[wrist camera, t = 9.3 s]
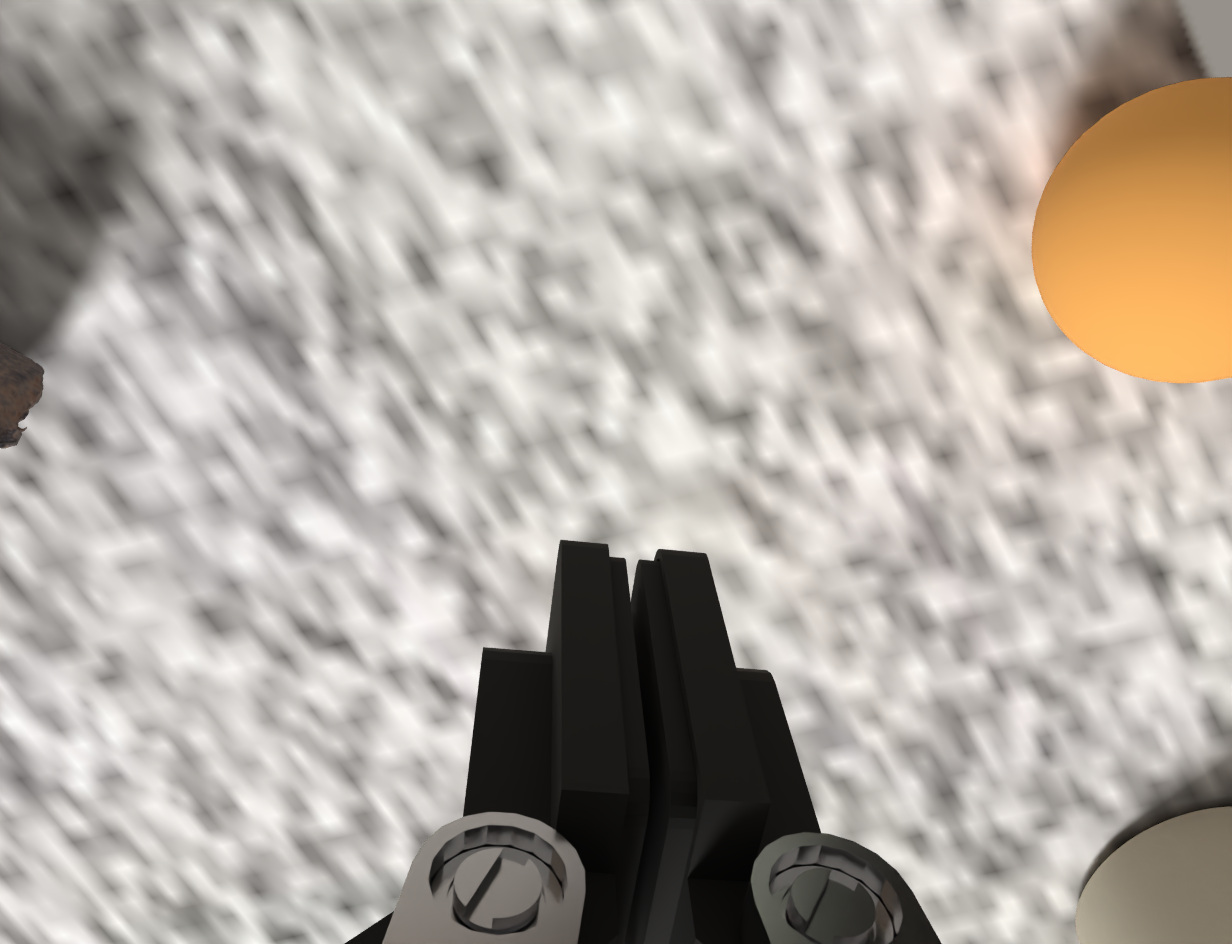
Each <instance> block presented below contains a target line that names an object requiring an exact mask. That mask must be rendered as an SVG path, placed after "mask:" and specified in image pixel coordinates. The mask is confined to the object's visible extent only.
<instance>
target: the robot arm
mask: <svg viewBox="0 0 1232 944" xmlns="http://www.w3.org/2000/svg"><path fill="white" fill-rule="evenodd" d="M345 944H941V942H940V940H939V938H938V936H937V935H936V933H935V931H934V929H933V928H932V926H931V924H930V922H929V920H928V919H927V917H926V915H925V913H924V911H923V910H922V908H921V906H920V904H919V903H918V901H917V899H916V897H915V895H914V894H913V892H912V890H911V889H910V888H909V886H908V885H907V884H906V882H905V881H904V880H903V878H902V877H901V876H900V874H899V873H898V872H897V870H895V869H894V868H893V867H892V866H891V865H889V864H888V863H887V862H886V861H885V860H883V859H882V858H881V857H880V856H879V855H878V854H876V853H874V852H872V851H870V850H869V849H867V848H865V847H863V846H861V845H859V844H857V843H856V842H854V841H851V840H847V839H844V838H841V837H837V836H834V835H831V834H823V833H821V831H820V828H819V824H818V821H817V818H816V815H815V811H814V808H813V805H812V801H811V798H810V795H809V792H808V788H807V785H806V782H805V779H804V775H803V772H802V769H801V766H800V762H799V759H798V756H797V753H796V749H795V746H794V743H793V739H792V736H791V733H790V730H789V726H788V723H787V720H786V717H785V713H784V710H783V707H782V704H781V700H780V697H779V694H778V691H777V687H776V684H775V681H774V679H773V677H772V675H771V673H770V672H768V671H767V670H757V669H744V668H736V666H735V662H734V658H733V654H732V650H731V646H730V643H729V639H728V635H727V631H726V627H725V623H724V619H723V615H722V611H721V607H720V603H719V600H718V596H717V592H716V588H715V584H714V580H713V576H712V572H711V568H710V564H709V560H708V557H707V555H706V554H705V553H697V552H687V551H676V550H665V549H658V550H657V552H656V555H655V559H654V561H649V560H639V561H638V564H637V568H636V573H635V579H634V585H633V591H632V597H631V602H630V593H629V584H628V575H627V566H626V560H625V558H616V557H609V548H608V544H600V543H589V542H578V541H568V540H560V544H559V550H558V557H557V565H556V573H555V581H554V589H553V597H552V605H551V613H550V621H549V629H548V637H547V645H546V652H535V651H523V650H510V649H498V648H486V647H483V653H482V661H481V669H480V678H479V686H478V695H477V703H476V712H475V720H474V729H473V737H472V746H471V754H470V762H469V771H468V779H467V788H466V796H465V805H464V813H463V817H462V818H460V819H458V820H455V821H453V822H451V823H449V824H446V825H444V826H442V827H441V828H440V829H439V830H437V831H436V832H435V833H434V834H433V835H431V836H430V837H429V838H428V839H427V840H426V841H424V843H423V845H422V846H421V848H420V850H419V851H418V853H417V855H416V856H415V858H414V860H413V861H412V864H411V867H410V870H409V872H408V875H407V878H406V880H405V883H404V886H403V889H402V891H401V894H400V897H399V899H398V902H397V905H396V907H395V910H394V911H393V912H392V913H390V914H389V915H387V916H386V917H384V918H383V919H381V920H380V921H378V922H377V923H375V924H374V925H372V926H371V927H369V928H368V929H366V930H365V931H363V932H362V933H360V934H359V935H357V936H356V937H354V938H353V939H351V940H349V941H348V942H346V943H345Z"/></svg>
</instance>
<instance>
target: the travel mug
mask: <svg viewBox="0 0 1232 944" xmlns="http://www.w3.org/2000/svg"><path fill="white" fill-rule="evenodd" d="M1075 924H1076V932H1077V936H1078V940H1079V942H1080V944H1232V807H1218V808H1210V809H1204V810H1199V811H1195V812H1191V813H1187V814H1184V815H1181V816H1177V817H1174V818H1172V819H1169V820H1167V821H1164V822H1162V823H1160V824H1157V825H1155V826H1153V827H1151V828H1149V829H1147V830H1145V831H1144V832H1142V833H1140V834H1138V835H1137V836H1135V837H1134V838H1132V839H1130V840H1129V841H1128V842H1126V843H1125V844H1123V845H1122V846H1121V847H1119V848H1118V849H1117V850H1116V851H1115V852H1114V853H1112V854H1111V855H1110V856H1109V857H1108V858H1107V859H1106V860H1105V861H1104V862H1103V863H1102V864H1101V865H1100V867H1099V868H1098V869H1097V870H1096V871H1095V873H1094V874H1093V875H1092V877H1091V878H1090V880H1089V881H1088V883H1087V885H1086V886H1085V888H1084V890H1083V892H1082V895H1081V897H1080V900H1079V903H1078V906H1077V911H1076V923H1075Z"/></svg>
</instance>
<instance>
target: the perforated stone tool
mask: <svg viewBox="0 0 1232 944" xmlns="http://www.w3.org/2000/svg"><path fill="white" fill-rule="evenodd" d="M43 374H44V370H43V368H42V367H41V366H40V365H39V364H37V363H35V362H34V361H33V360H31V359H29V358H27V357H25V356H23V355H21V354H20V353H18V352H16V351H14V350H13V349H11V348H9V347H8V346H6V345H5V344H3V343H1V342H0V448H7V447H10V446H15V445H17V443H18V441H19V440H20V438H21V435H22V433H21V432H22V431H25V429H26V428H27V427H26V428H24V429H21V428H19V427H18V423H19V422H20V421H22V420H24V419H25V418H26V416H27V415H28V413H29V409H30V408H32V407H33V406H34V405H35V404H36V403H38V402H39V400H40V398H41V396H42V390H43V383H42V382H43Z"/></svg>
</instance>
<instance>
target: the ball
mask: <svg viewBox="0 0 1232 944" xmlns="http://www.w3.org/2000/svg"><path fill="white" fill-rule="evenodd" d="M1032 261H1033V268H1034V275H1035V279H1036V283H1037V286H1038V289H1039V292H1040V294H1041V297H1042V300H1043V302H1044V304H1045V306H1046V308H1047V310H1048V312H1049V313H1050V315H1051V317H1052V318H1053V320H1054V321H1055V322H1056V324H1057V325H1058V326H1059V328H1060V329H1061V330H1062V331H1063V333H1064V334H1065V335H1066V336H1067V337H1068V338H1069V339H1070V340H1071V341H1072V342H1073V343H1074V344H1075V345H1076V346H1077V347H1079V348H1080V349H1081V350H1082V351H1084V352H1085V353H1087V354H1088V355H1090V356H1091V357H1093V358H1094V359H1096V360H1097V361H1099V362H1101V363H1103V364H1104V365H1106V366H1108V367H1110V368H1113V369H1115V370H1118V371H1120V372H1123V373H1125V374H1128V375H1131V376H1135V377H1139V378H1144V379H1148V380H1153V381H1159V382H1170V383H1199V382H1207V381H1213V380H1219V379H1225V378H1231V377H1232V78H1231V77H1226V78H1225V77H1224V78H1201V79H1195V80H1189V81H1183V82H1178V83H1175V84H1171V85H1167V86H1164V87H1161V88H1158V89H1155V90H1151V91H1149V92H1147V93H1145V94H1143V95H1141V96H1138V97H1136V98H1134V99H1132V100H1130V101H1128V102H1126V103H1124V104H1122V105H1121V106H1119V107H1117V108H1116V109H1114V110H1113V111H1111V112H1110V113H1108V114H1106V115H1105V116H1104V117H1103V118H1101V119H1100V120H1099V121H1098V122H1097V123H1095V124H1094V125H1093V126H1092V127H1091V128H1089V129H1088V130H1087V131H1086V132H1085V133H1084V134H1082V136H1081V137H1080V138H1079V139H1078V140H1077V141H1076V142H1075V143H1074V144H1073V145H1072V146H1071V147H1070V149H1069V150H1068V151H1067V153H1066V154H1065V155H1064V157H1063V158H1062V160H1061V161H1060V162H1059V164H1058V165H1057V167H1056V168H1055V170H1054V171H1053V173H1052V175H1051V177H1050V179H1049V181H1048V183H1047V184H1046V186H1045V189H1044V191H1043V194H1042V197H1041V200H1040V202H1039V205H1038V208H1037V211H1036V216H1035V221H1034V226H1033V232H1032Z"/></svg>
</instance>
